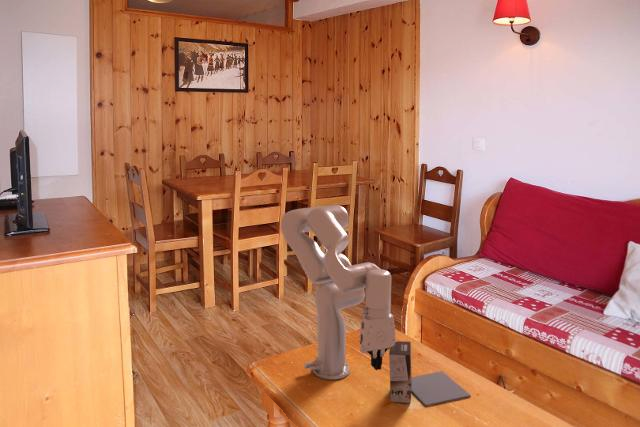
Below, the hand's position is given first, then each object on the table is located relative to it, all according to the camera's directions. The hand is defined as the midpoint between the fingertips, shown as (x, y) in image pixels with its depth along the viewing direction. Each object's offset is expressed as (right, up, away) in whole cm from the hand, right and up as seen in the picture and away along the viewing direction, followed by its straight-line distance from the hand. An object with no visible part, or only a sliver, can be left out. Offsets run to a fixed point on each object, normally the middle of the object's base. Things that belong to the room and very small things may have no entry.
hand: (376, 367), depth 161 cm
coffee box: (+8, -10, +5) cm, 14 cm away
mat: (+20, -9, +9) cm, 24 cm away
